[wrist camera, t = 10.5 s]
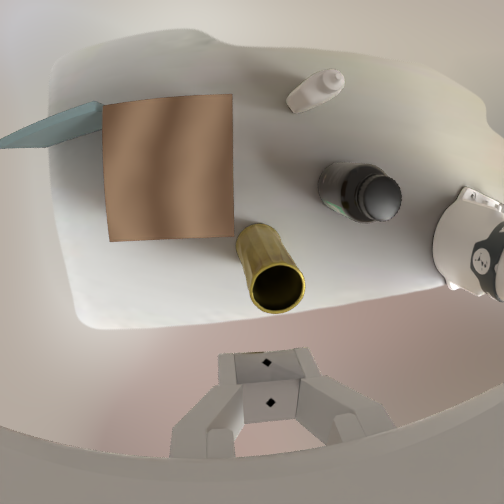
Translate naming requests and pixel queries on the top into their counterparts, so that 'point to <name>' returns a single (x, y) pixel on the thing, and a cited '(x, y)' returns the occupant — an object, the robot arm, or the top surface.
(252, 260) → the vase
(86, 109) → the door
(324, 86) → the eye dropper bottle
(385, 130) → the top surface
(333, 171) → the supplement bottle
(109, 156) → the cabinet box
